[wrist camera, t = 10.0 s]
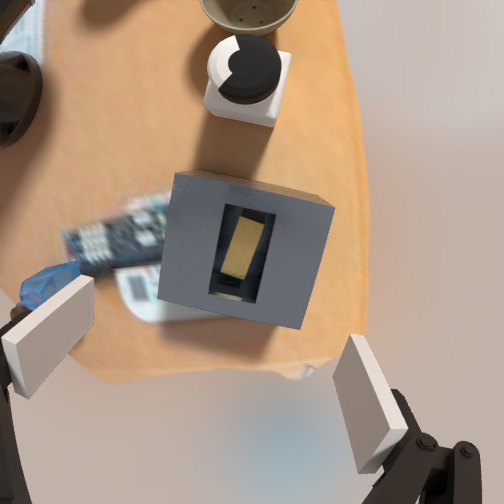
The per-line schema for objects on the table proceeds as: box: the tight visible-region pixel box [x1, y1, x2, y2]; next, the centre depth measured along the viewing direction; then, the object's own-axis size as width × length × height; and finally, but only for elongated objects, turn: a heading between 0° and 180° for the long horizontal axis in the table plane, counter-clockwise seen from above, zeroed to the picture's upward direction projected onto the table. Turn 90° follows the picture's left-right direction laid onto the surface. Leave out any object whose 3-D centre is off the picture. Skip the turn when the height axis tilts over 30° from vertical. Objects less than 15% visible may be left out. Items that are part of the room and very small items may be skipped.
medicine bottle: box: [203, 34, 292, 127], centre depth 28 cm, size 7×7×12 cm
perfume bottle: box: [10, 261, 81, 320], centre depth 36 cm, size 6×6×12 cm
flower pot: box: [200, 0, 298, 36], centre depth 28 cm, size 10×10×7 cm
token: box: [221, 207, 265, 280], centre depth 35 cm, size 2×6×6 cm, turn 160°
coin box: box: [157, 170, 335, 330], centre depth 33 cm, size 14×12×10 cm
